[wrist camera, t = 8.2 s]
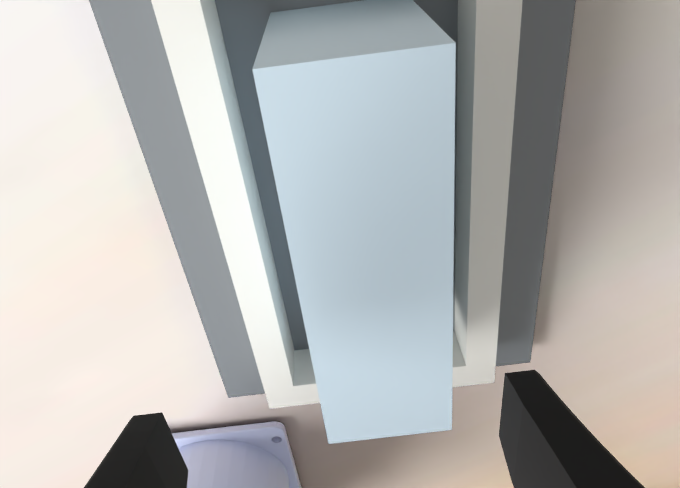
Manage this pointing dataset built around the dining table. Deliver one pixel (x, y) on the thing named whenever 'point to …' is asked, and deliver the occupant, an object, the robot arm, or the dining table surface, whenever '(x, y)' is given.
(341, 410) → the block
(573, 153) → the dining table surface
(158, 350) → the dining table surface
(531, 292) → the cradle jig
